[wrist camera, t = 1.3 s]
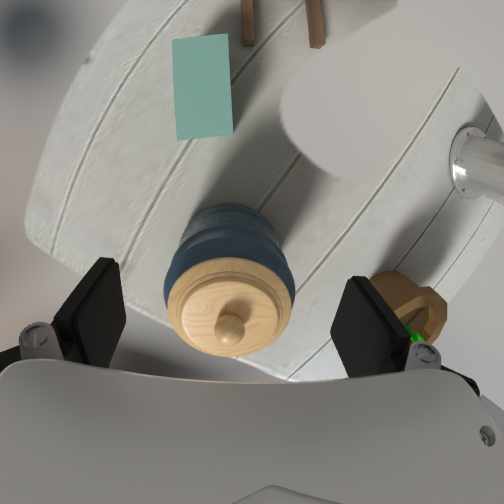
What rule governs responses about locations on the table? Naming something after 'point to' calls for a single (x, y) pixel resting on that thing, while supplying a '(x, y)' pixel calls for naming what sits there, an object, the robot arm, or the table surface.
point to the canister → (229, 283)
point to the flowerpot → (413, 305)
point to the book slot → (312, 16)
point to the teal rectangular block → (202, 86)
